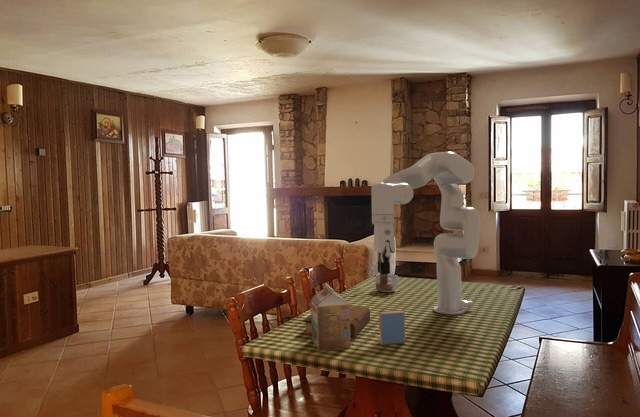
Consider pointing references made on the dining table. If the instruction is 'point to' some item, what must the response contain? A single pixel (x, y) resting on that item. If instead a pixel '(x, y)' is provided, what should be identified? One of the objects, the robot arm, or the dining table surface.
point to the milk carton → (330, 320)
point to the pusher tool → (383, 282)
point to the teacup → (391, 279)
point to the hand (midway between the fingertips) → (383, 272)
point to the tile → (392, 327)
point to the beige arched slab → (357, 320)
